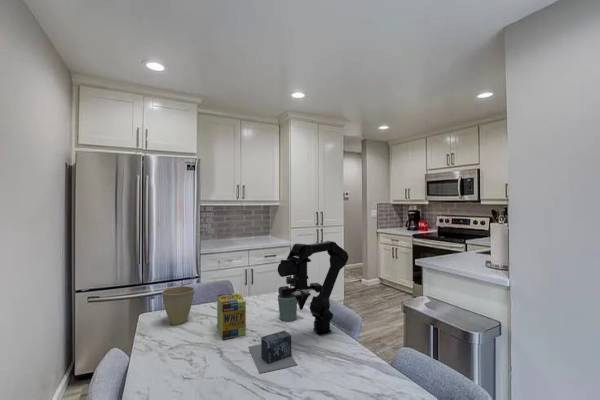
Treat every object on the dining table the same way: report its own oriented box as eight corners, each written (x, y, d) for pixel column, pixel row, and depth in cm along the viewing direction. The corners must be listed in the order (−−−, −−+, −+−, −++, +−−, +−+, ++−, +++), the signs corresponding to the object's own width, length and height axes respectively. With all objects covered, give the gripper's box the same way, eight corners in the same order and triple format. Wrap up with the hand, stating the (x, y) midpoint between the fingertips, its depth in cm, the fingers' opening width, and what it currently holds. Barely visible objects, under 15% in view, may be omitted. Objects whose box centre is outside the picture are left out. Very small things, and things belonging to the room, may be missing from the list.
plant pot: (197, 323, 143) (197, 291, 143) (165, 331, 134) (165, 296, 135) (190, 314, 155) (190, 284, 155) (159, 320, 147) (159, 289, 147)
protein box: (222, 340, 124) (222, 304, 124) (217, 327, 138) (216, 294, 138) (246, 336, 128) (246, 301, 129) (238, 323, 142) (238, 291, 143)
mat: (281, 341, 123) (281, 340, 123) (297, 365, 105) (297, 364, 105) (248, 347, 118) (248, 346, 118) (259, 373, 99) (259, 373, 99)
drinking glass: (301, 317, 149) (301, 294, 149) (290, 324, 140) (290, 299, 141) (285, 313, 154) (285, 291, 155) (273, 320, 146) (273, 296, 146)
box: (292, 355, 111) (267, 364, 105) (284, 349, 115) (260, 357, 110) (292, 335, 111) (267, 342, 105) (284, 329, 116) (260, 336, 110)
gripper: (313, 267, 136) (313, 301, 135) (274, 271, 129) (274, 306, 129) (323, 272, 125) (323, 308, 125) (282, 276, 119) (282, 315, 118)
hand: (301, 309), depth 125 cm, fingers closed
